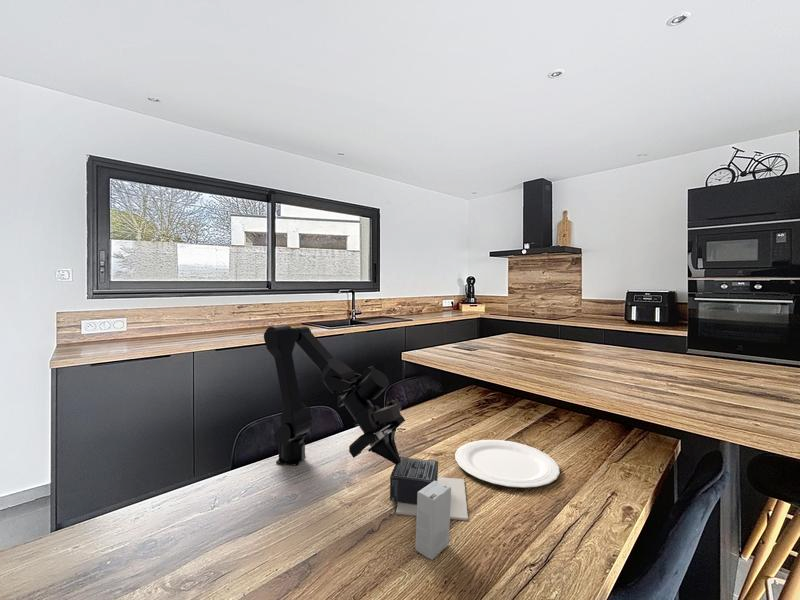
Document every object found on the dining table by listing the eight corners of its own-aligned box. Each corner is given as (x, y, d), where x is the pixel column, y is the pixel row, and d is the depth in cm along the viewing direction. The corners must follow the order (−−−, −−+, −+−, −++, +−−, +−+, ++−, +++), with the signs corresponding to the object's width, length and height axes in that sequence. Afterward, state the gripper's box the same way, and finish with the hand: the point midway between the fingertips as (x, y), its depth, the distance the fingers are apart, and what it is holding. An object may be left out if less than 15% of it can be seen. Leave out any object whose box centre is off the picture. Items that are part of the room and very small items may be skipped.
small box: (389, 503, 89) (433, 508, 87) (389, 476, 89) (433, 481, 86) (398, 479, 99) (438, 484, 97) (398, 455, 99) (438, 459, 97)
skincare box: (432, 535, 78) (433, 478, 78) (450, 545, 75) (452, 486, 75) (413, 551, 74) (415, 490, 73) (432, 562, 71) (434, 499, 70)
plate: (574, 466, 111) (575, 460, 110) (532, 508, 89) (532, 500, 89) (486, 437, 130) (486, 431, 130) (434, 465, 109) (434, 459, 109)
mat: (396, 513, 85) (396, 511, 85) (403, 476, 102) (404, 474, 102) (467, 520, 83) (467, 518, 83) (463, 481, 100) (463, 479, 100)
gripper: (360, 402, 86) (402, 461, 81) (399, 384, 102) (436, 432, 98) (332, 429, 90) (370, 487, 85) (374, 407, 106) (408, 455, 102)
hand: (399, 463), depth 92 cm, fingers closed
